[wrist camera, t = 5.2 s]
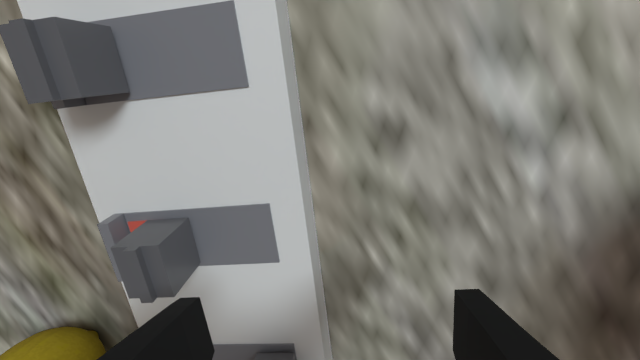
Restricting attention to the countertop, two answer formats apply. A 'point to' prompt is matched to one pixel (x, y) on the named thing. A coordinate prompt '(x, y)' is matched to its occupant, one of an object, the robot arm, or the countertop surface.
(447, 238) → the countertop surface
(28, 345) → the lemon
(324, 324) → the switch panel
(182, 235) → the switch middle
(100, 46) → the switch near
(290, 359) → the switch far
